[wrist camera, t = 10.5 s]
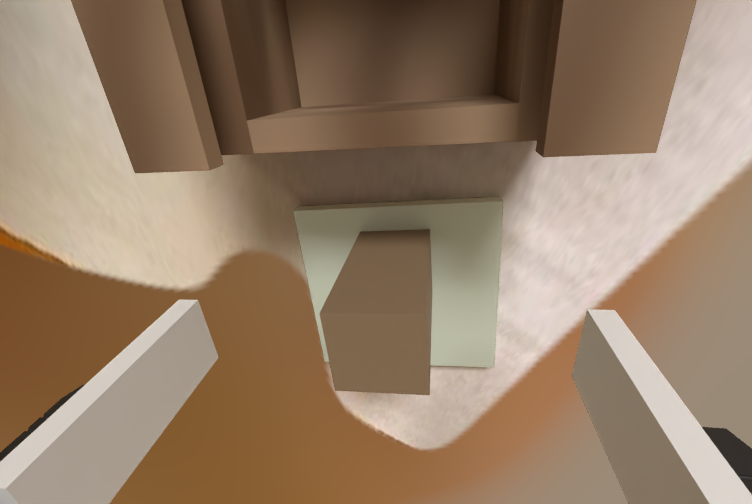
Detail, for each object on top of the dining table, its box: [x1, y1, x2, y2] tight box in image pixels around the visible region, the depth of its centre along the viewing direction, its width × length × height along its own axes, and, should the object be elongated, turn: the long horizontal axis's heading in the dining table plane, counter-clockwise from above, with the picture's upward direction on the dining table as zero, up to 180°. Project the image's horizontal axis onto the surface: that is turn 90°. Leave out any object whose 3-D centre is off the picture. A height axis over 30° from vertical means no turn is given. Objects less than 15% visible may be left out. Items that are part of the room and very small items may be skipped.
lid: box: [293, 196, 503, 395], centre depth 17 cm, size 10×10×8 cm
